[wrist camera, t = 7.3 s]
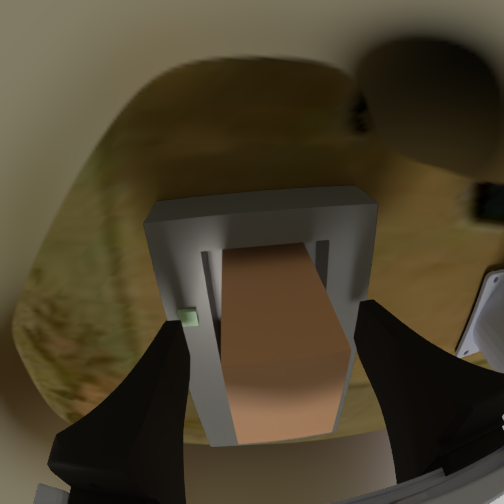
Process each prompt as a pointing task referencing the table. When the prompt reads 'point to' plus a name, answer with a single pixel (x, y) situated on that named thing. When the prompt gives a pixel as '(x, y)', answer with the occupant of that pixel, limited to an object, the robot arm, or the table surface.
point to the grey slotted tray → (251, 235)
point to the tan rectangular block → (279, 344)
